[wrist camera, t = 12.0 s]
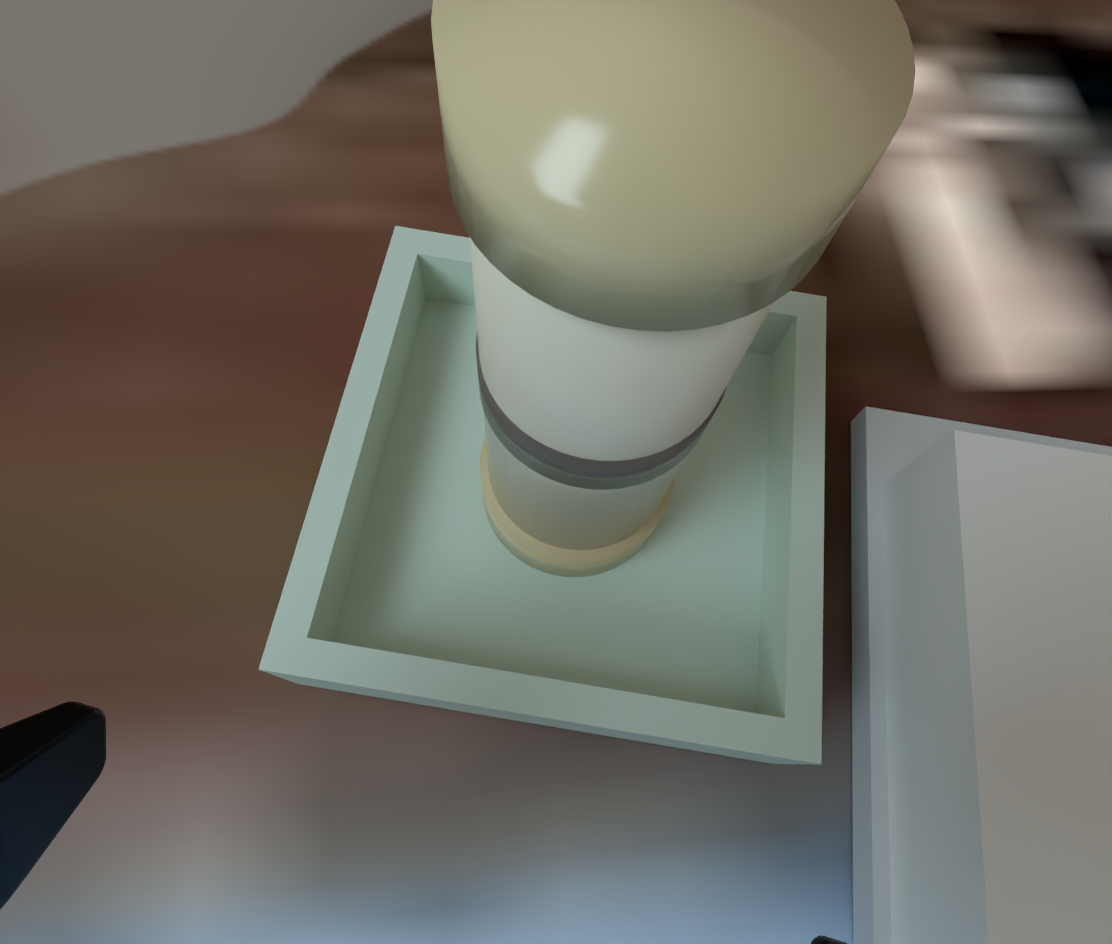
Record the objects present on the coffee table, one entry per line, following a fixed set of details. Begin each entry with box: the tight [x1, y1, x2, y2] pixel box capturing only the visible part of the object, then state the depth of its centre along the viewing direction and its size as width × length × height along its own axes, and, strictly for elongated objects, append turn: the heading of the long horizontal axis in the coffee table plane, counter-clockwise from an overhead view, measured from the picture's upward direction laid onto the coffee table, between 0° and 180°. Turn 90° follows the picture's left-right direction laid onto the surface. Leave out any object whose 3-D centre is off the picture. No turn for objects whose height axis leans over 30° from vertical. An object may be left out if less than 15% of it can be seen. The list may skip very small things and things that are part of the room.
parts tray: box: [259, 226, 826, 764], centre depth 19 cm, size 12×12×3 cm
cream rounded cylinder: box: [431, 0, 915, 577], centre depth 13 cm, size 5×5×13 cm
